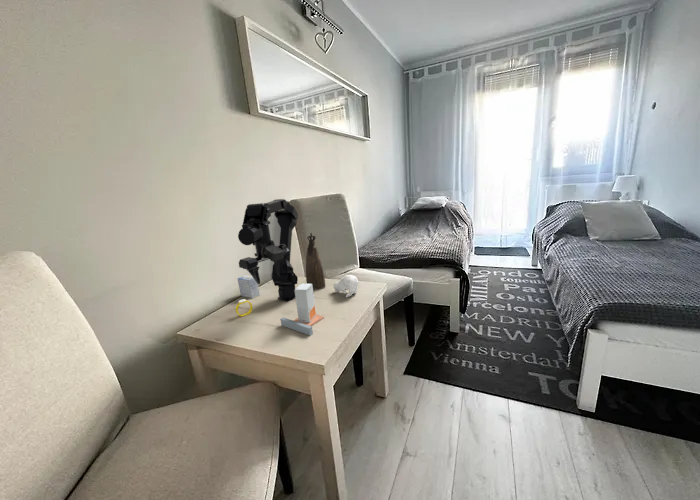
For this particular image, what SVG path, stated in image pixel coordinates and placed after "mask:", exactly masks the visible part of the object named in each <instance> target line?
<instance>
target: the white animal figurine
mask: <svg viewBox="0 0 700 500" xmlns="http://www.w3.org/2000/svg"><path fill="white" fill-rule="evenodd" d="M359 283H360V282H359V279H358V278H357V277H356V276H355V275H352V274H347V275H344V276H343V277H342V278H341V279H340V280H339V281H335V282H334V284H333V289H334V291H335V292H336V293H340V292H342V293H343V294H346V295H345V298H350V297H351V296H352V295H353V294H356V293H357V292H358V288H359ZM347 291H349V292H347Z"/></svg>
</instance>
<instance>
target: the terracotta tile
mask: <svg viewBox="0 0 700 500" xmlns="http://www.w3.org/2000/svg"><path fill="white" fill-rule="evenodd" d="M324 319H325V316H323V315H320V314H317V313H316V316H315V317H314V318H313V319H312V320H311V322H310V323H306V322H299V319H298V317H296V318H295V319H292V320H293V321H296V322H299V323H302V324H305V325H308V326H311V327H313V326H314V325H316V324H317V323H319V322H320V321H322V320H324Z"/></svg>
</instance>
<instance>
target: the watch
mask: <svg viewBox="0 0 700 500" xmlns="http://www.w3.org/2000/svg"><path fill="white" fill-rule="evenodd" d="M245 303H248V304H249V310H248V311H247V312H245V313H242V314H241V313H240V312H239V307H240V306H241V305H243V304H245ZM252 311H253V304H252V303H251V302H250V301H249V300H247V299H245V298H243V299H240V300H238V303H237V304H236V307H235V312H236V314H237V315H238V316H240V317H244V316H248V315H250V314H251V313H252Z"/></svg>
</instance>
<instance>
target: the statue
mask: <svg viewBox="0 0 700 500" xmlns="http://www.w3.org/2000/svg"><path fill="white" fill-rule="evenodd" d="M316 238H317V237H316V235H313V233H312V232H310V235H308V236H307V237H306V239H307V240H308V247H307V249H306V257H305V277H306V282H305V283H306V284H312V286H313V290H319V289H320V290H321V289H323V288H326V279H325V273H324V267H323V263H322V261H321V256H320V253H319V251H318V248H317V247H316V242H315V240H316Z"/></svg>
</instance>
